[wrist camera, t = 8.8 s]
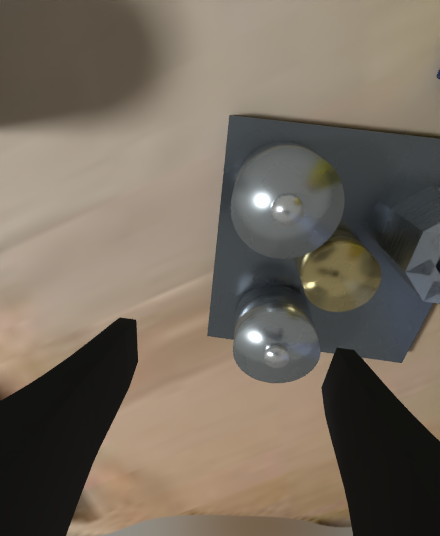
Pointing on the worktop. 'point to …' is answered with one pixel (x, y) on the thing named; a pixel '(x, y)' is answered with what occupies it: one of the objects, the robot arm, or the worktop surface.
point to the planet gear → (416, 242)
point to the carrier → (313, 244)
